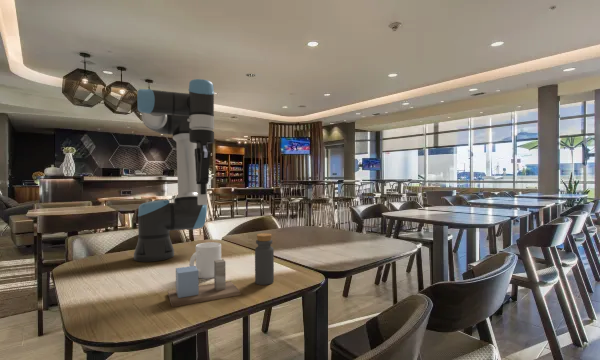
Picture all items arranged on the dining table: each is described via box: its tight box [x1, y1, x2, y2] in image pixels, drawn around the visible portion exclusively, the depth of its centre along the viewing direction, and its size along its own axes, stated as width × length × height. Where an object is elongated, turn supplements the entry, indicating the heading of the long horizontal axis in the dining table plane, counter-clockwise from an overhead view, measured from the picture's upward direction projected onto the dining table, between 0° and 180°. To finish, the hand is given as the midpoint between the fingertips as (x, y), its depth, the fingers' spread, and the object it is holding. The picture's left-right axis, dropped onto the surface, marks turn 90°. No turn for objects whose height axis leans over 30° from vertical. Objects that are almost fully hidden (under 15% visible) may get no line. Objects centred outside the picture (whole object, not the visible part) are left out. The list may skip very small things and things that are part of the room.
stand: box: [167, 258, 241, 308], centre depth 90 cm, size 10×18×9 cm, turn 118°
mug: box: [188, 241, 222, 280], centre depth 107 cm, size 12×8×10 cm
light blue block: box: [175, 265, 200, 298], centre depth 88 cm, size 5×5×7 cm
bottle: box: [254, 232, 275, 286], centre depth 101 cm, size 6×6×15 cm
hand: (202, 204), depth 102 cm, fingers closed
